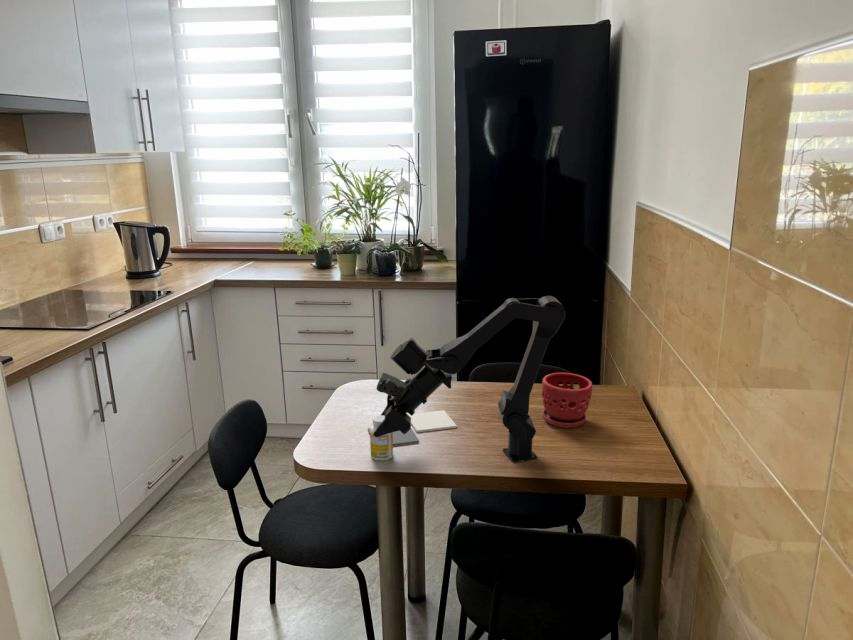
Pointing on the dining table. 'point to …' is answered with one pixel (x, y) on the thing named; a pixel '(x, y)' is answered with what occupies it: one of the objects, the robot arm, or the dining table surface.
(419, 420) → the offwhite coaster
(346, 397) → the dining table surface
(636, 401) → the dining table surface
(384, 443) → the supplement bottle
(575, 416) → the plant pot
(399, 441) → the slate coaster
